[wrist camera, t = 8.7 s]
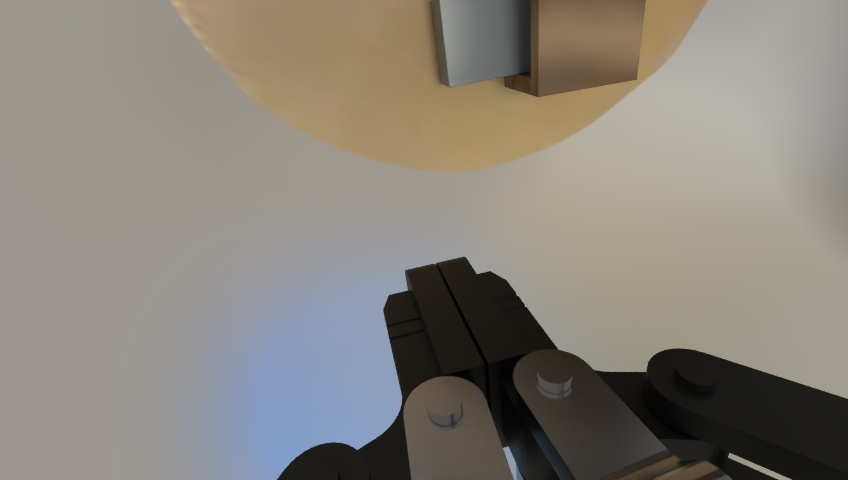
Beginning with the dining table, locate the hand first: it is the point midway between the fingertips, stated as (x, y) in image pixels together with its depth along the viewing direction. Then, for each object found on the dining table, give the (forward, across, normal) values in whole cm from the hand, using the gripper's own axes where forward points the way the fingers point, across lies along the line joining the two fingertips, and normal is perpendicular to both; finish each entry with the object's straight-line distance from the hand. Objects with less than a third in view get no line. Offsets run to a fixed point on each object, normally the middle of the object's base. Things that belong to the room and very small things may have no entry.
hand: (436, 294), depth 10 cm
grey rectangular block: (+28, -13, -4) cm, 31 cm away
